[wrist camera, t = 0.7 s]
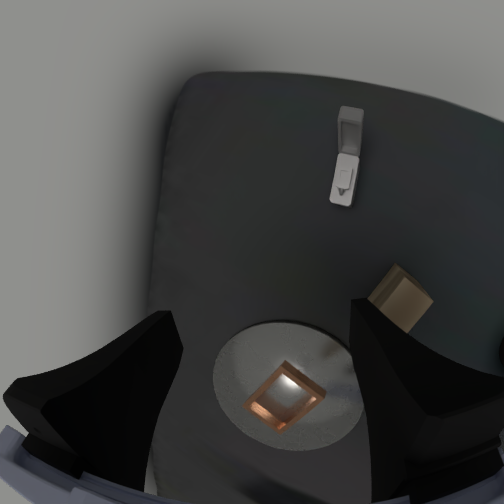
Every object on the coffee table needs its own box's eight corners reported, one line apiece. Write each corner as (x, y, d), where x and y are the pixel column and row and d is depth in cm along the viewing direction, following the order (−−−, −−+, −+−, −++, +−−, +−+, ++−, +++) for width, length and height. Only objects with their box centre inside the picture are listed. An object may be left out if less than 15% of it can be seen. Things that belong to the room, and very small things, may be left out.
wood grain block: (417, 281, 24) (433, 301, 18) (385, 321, 26) (390, 351, 19) (395, 262, 25) (404, 277, 18) (363, 303, 26) (362, 329, 20)
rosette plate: (399, 385, 26) (400, 398, 23) (297, 463, 31) (292, 475, 29) (270, 285, 30) (261, 291, 27) (194, 385, 35) (184, 394, 33)
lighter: (352, 208, 26) (347, 204, 19) (334, 204, 26) (322, 198, 19) (364, 136, 25) (363, 106, 17) (347, 133, 25) (339, 102, 18)
